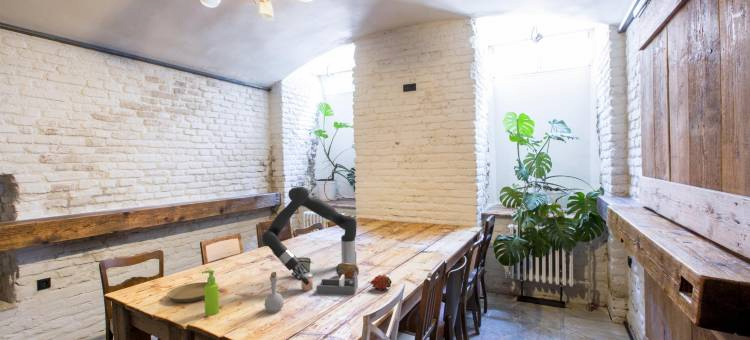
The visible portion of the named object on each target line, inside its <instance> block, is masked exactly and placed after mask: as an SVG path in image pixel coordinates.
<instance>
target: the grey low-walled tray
mask: <svg viewBox="0 0 750 340" xmlns="http://www.w3.org/2000/svg"><path fill="white" fill-rule="evenodd" d="M339 279H340V278H339ZM339 279H337V278H336V279H333V278H321V279H320V280H321V281H320V283H319V284H318V285H316V294H322V295H323V294H325V295H326V294H327V295H328V294H329V295H353V296H354V295H355V294H356V292H357V290H358V287H359V283H358V282H359V280H358V276H357V272H355V274H354V276H353V279H344V283H345V285H344V286H339Z"/></svg>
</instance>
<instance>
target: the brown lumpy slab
mask: <svg viewBox="0 0 750 340" xmlns="http://www.w3.org/2000/svg"><path fill="white" fill-rule="evenodd" d="M355 272H357V277H359V273H360V270H359V266H358V265H355V264H349V263H342V262H340V263H338V264H337V265H336V274H337V275H338V276H339V277H341V276H342V274H343V275H344V279H350V280H353V276H354V274H355Z"/></svg>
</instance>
